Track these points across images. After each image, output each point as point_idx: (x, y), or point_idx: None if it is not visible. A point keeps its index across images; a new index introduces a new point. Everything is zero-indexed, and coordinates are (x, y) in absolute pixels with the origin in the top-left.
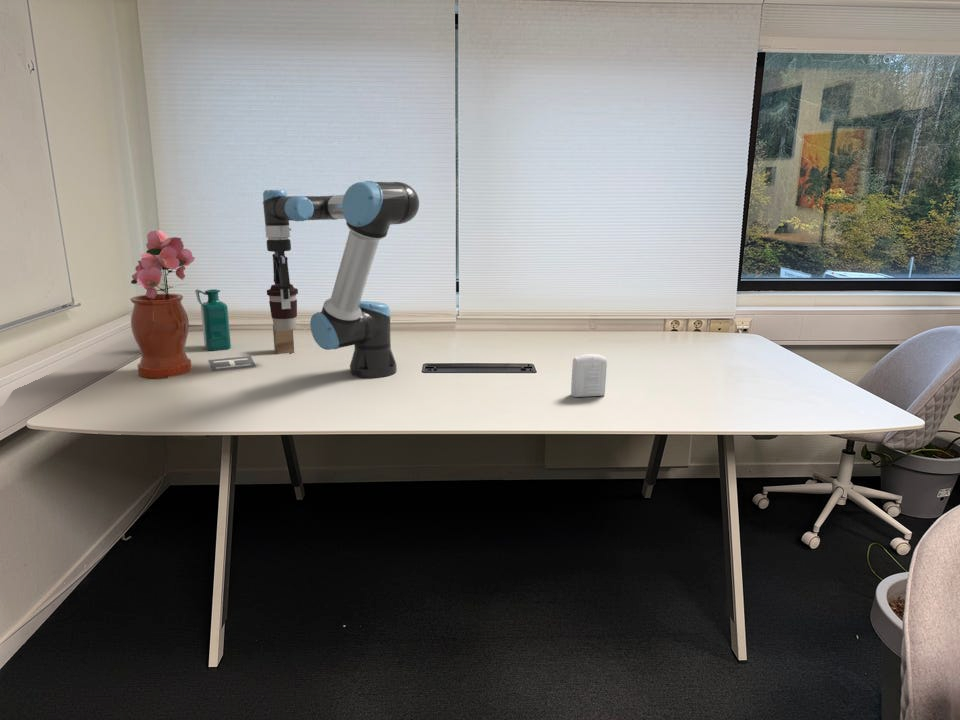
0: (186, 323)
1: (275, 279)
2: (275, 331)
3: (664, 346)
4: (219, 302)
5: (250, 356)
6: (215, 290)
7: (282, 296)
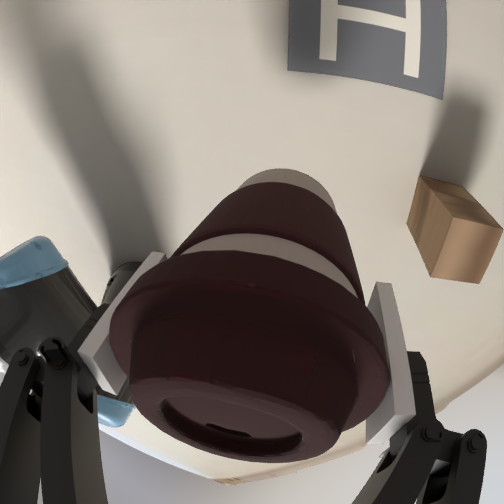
0: None
1: (392, 476)
2: (452, 210)
3: (191, 459)
4: None
5: (436, 96)
6: None
7: (110, 314)
